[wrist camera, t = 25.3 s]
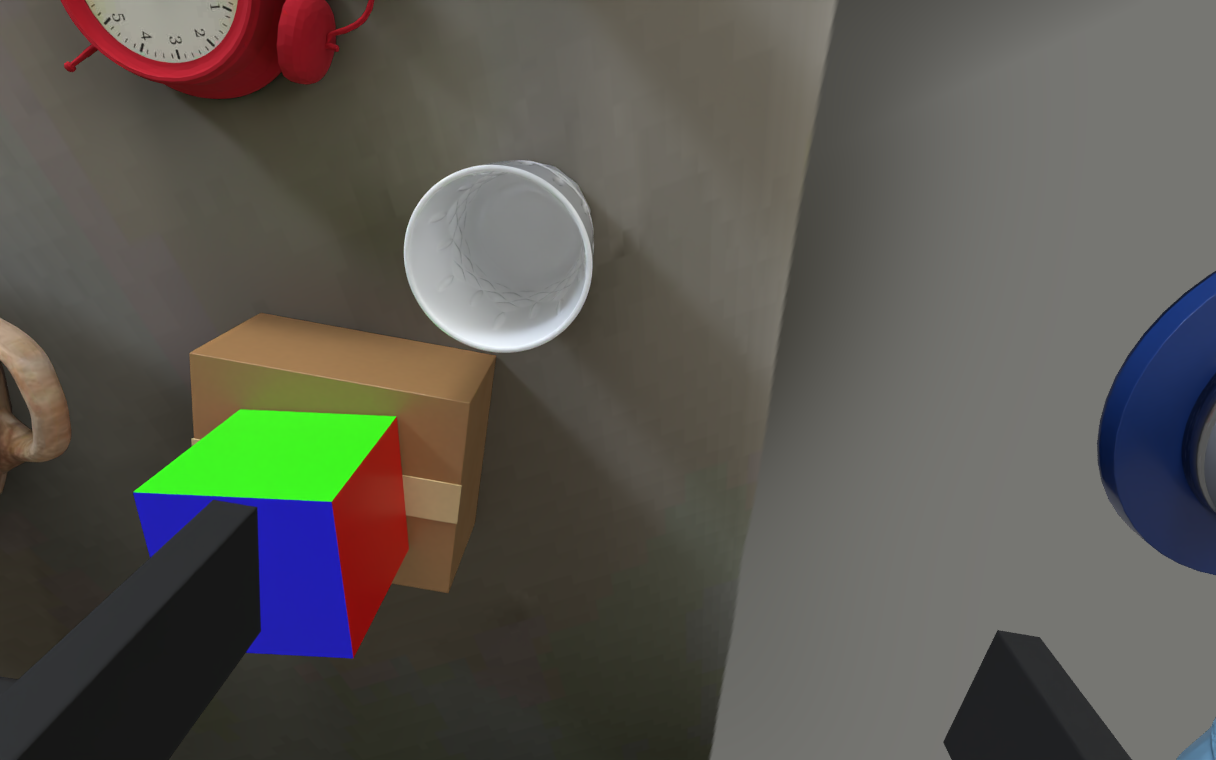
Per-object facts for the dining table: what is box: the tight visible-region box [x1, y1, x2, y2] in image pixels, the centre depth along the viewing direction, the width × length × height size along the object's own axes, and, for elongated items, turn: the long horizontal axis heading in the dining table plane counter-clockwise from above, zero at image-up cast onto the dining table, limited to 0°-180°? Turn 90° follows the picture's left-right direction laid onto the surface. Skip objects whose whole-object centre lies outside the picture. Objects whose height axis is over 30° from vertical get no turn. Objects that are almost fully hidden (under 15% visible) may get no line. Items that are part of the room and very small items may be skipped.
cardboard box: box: [189, 313, 496, 593], centre depth 39 cm, size 14×12×7 cm
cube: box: [133, 409, 409, 658], centre depth 32 cm, size 8×8×8 cm
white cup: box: [404, 160, 594, 353], centre depth 33 cm, size 8×8×10 cm
